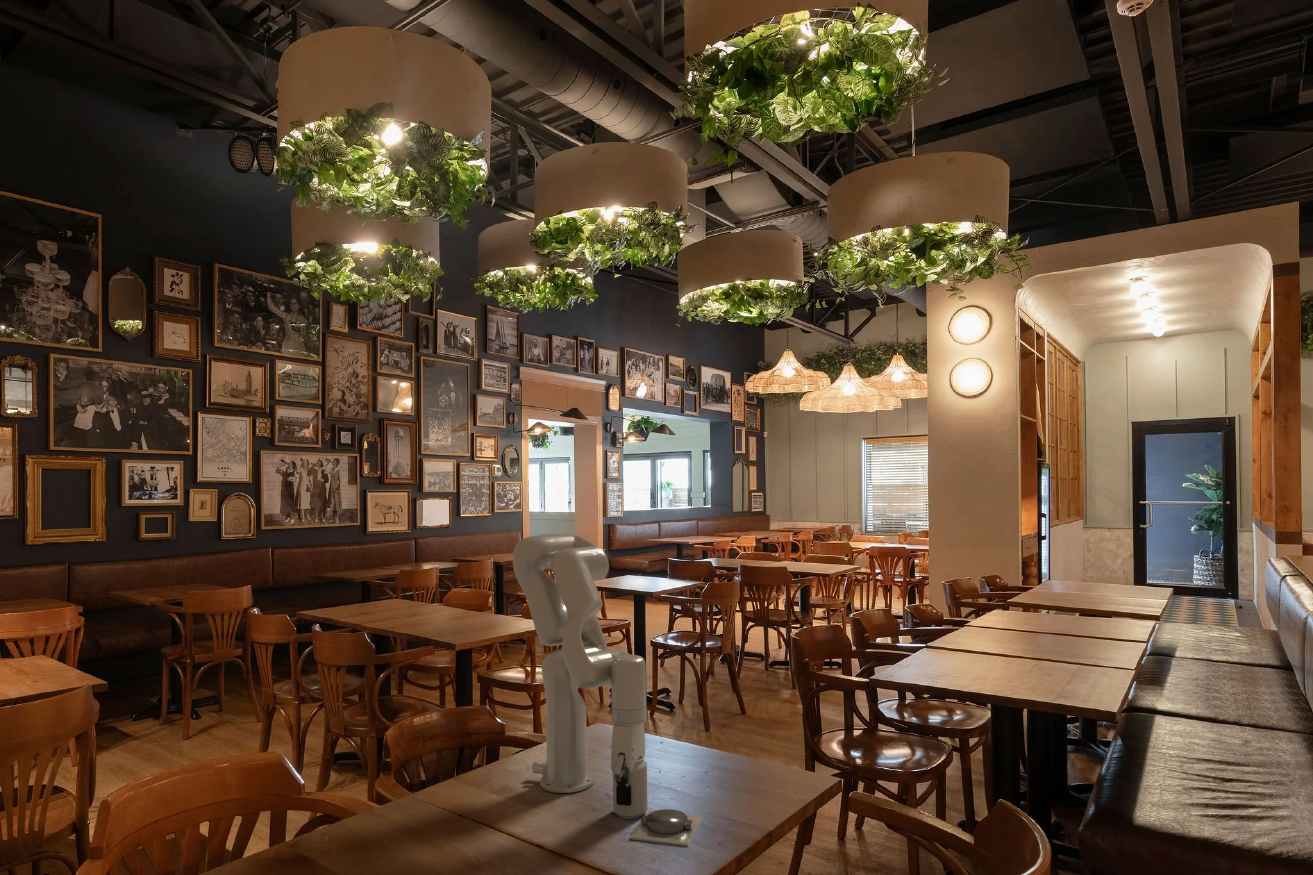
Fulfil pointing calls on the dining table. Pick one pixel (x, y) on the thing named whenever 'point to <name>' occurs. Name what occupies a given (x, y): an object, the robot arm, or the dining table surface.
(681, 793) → the dining table surface
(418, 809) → the dining table surface
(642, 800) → the can
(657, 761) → the dining table surface
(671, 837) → the white flat square plate
